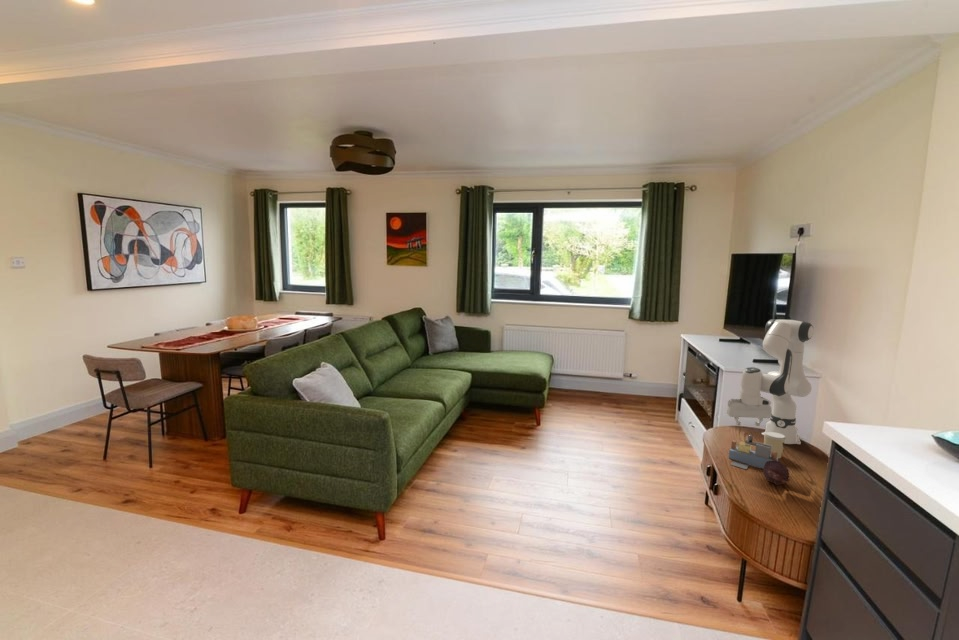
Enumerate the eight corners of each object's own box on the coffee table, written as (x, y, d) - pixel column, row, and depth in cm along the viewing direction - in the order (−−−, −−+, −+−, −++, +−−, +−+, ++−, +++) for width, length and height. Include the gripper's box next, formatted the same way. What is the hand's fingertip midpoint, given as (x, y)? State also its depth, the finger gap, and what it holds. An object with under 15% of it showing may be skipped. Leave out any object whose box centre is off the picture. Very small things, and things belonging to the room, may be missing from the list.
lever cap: (739, 448, 222) (740, 441, 221) (751, 451, 219) (751, 443, 218) (737, 451, 218) (738, 443, 218) (749, 454, 215) (749, 446, 214)
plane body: (732, 454, 226) (734, 435, 225) (777, 466, 212) (779, 446, 211) (728, 459, 220) (730, 439, 219) (774, 472, 207) (776, 451, 205)
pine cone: (757, 471, 207) (759, 452, 206) (781, 475, 203) (783, 455, 202) (767, 488, 190) (769, 467, 189) (793, 493, 187) (796, 471, 186)
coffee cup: (786, 460, 220) (789, 438, 218) (766, 458, 222) (769, 437, 220) (777, 453, 229) (780, 432, 228) (758, 451, 231) (761, 430, 229)
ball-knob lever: (745, 442, 219) (746, 434, 218) (763, 446, 213) (764, 438, 213) (744, 443, 217) (745, 435, 217) (763, 448, 212) (764, 439, 211)
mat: (733, 461, 217) (733, 460, 217) (749, 466, 213) (749, 465, 213) (730, 465, 213) (730, 464, 213) (746, 469, 208) (746, 469, 208)
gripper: (731, 400, 213) (729, 426, 215) (774, 402, 211) (772, 428, 213) (725, 396, 219) (723, 422, 221) (767, 398, 217) (765, 423, 219)
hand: (747, 425), depth 217 cm, fingers open, 8 cm apart
